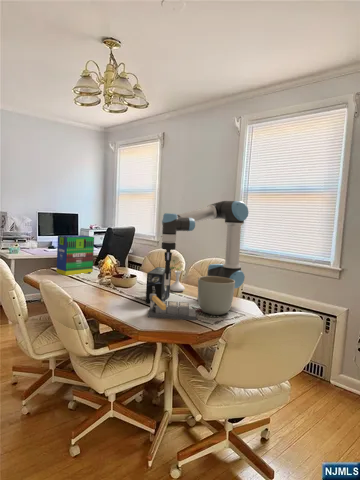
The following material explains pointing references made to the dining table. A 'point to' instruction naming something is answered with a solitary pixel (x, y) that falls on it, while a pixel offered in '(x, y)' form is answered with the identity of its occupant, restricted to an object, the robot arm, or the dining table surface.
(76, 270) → the box
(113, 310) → the dining table surface
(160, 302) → the tan wooden bar
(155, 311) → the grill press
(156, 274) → the box
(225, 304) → the planter
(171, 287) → the flower in vase
